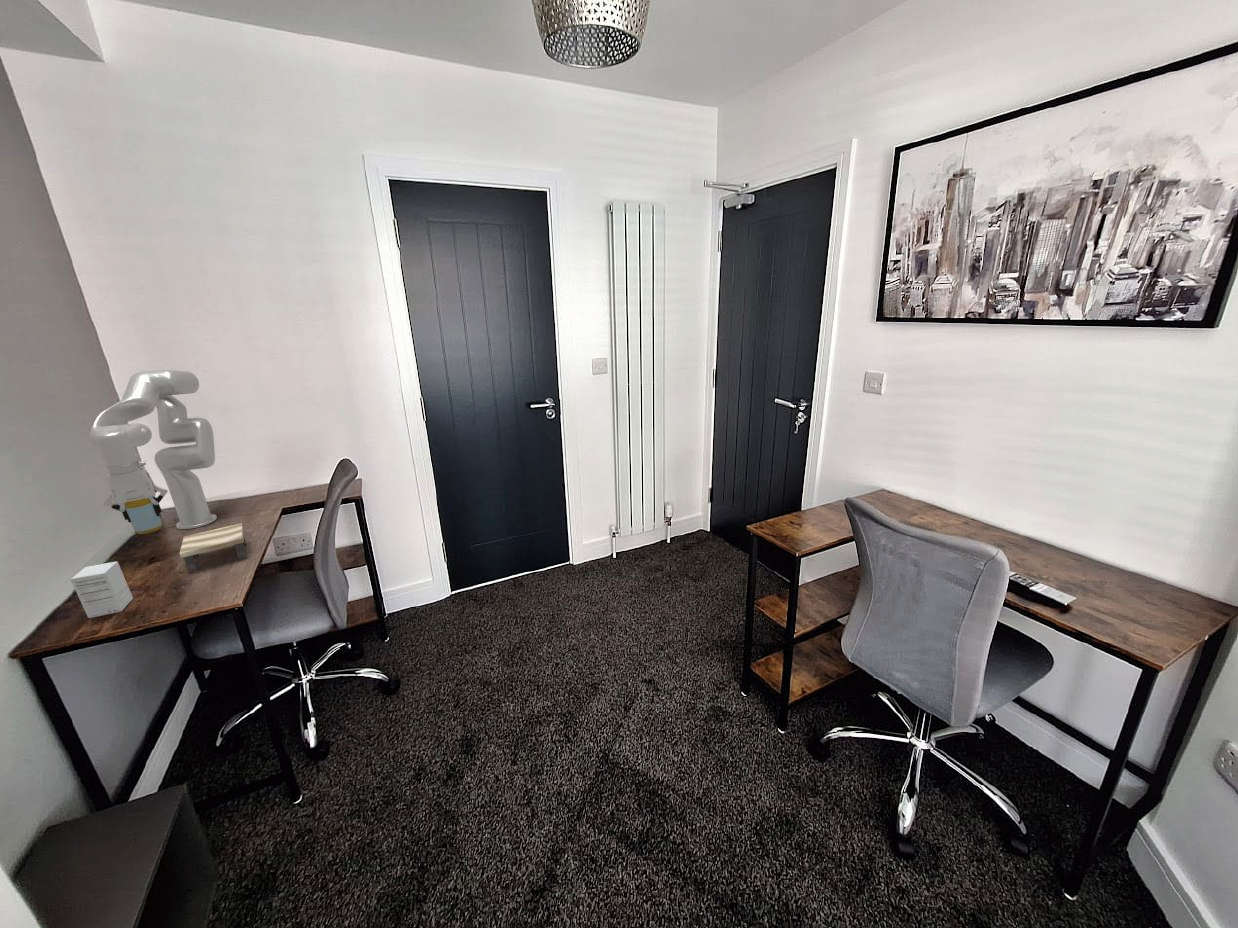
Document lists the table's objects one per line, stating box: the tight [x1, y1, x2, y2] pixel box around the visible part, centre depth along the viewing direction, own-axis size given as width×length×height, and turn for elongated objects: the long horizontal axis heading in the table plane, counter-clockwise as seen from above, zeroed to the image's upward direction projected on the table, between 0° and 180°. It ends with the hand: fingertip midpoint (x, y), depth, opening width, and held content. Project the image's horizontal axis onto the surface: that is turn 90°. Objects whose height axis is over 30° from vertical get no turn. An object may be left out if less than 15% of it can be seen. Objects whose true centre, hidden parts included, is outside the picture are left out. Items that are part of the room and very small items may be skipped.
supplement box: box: [69, 561, 134, 619], centre depth 136 cm, size 7×7×13 cm
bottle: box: [124, 490, 163, 535], centre depth 162 cm, size 7×7×15 cm
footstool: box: [179, 522, 247, 574], centre depth 164 cm, size 16×16×8 cm
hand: (144, 517), depth 163 cm, fingers closed on bottle, 6 cm apart
